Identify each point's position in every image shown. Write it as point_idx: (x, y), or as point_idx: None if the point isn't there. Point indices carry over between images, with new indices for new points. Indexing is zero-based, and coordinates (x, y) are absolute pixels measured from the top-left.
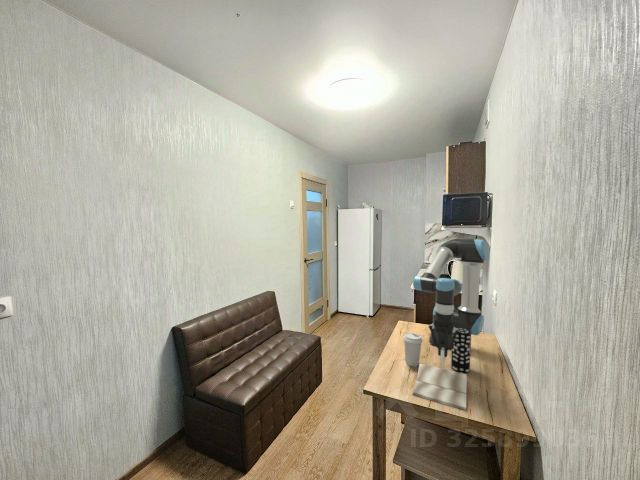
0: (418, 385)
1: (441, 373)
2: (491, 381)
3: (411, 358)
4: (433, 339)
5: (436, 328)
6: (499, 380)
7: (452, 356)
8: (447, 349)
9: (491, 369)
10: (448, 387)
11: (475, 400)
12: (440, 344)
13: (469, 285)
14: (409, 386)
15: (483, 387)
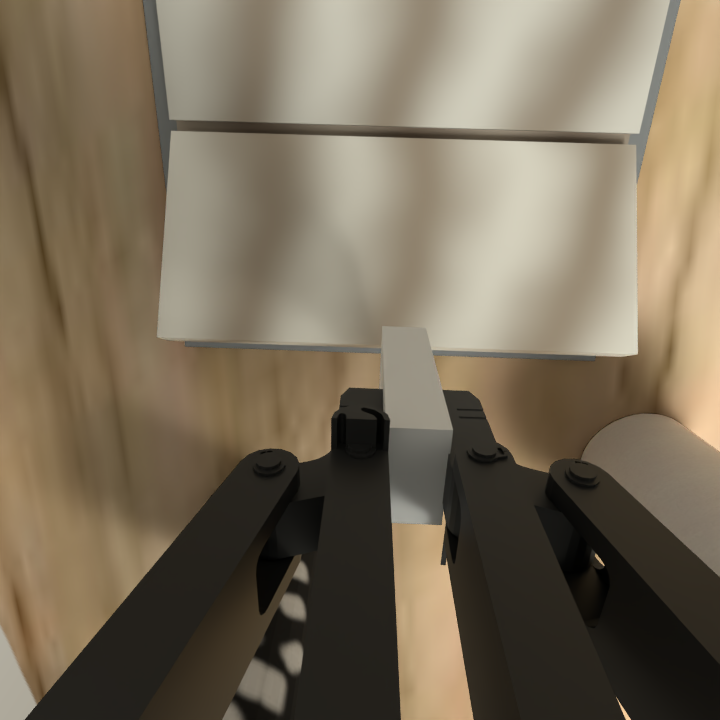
0: (627, 29)
1: (401, 285)
2: (52, 461)
3: (696, 452)
4: (715, 593)
5: None
6: (10, 496)
7: (309, 593)
8: (328, 463)
9: (79, 606)
10: (328, 147)
11: (107, 109)
12: (483, 508)
13: None
14: (700, 37)
15: (86, 353)
